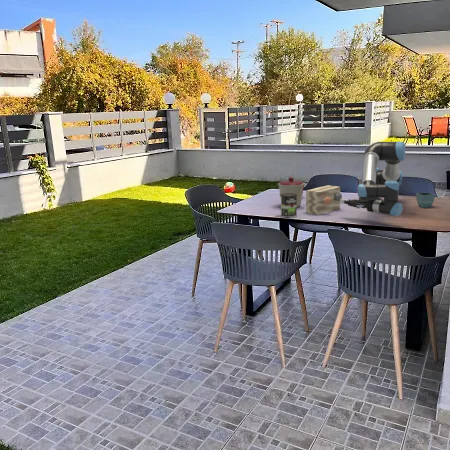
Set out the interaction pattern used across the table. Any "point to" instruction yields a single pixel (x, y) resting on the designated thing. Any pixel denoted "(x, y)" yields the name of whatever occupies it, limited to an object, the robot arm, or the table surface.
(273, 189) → the table surface
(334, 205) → the stand
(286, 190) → the canister
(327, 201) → the terracotta plunger
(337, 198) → the grey plunger
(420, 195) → the flower pot
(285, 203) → the coffee can
